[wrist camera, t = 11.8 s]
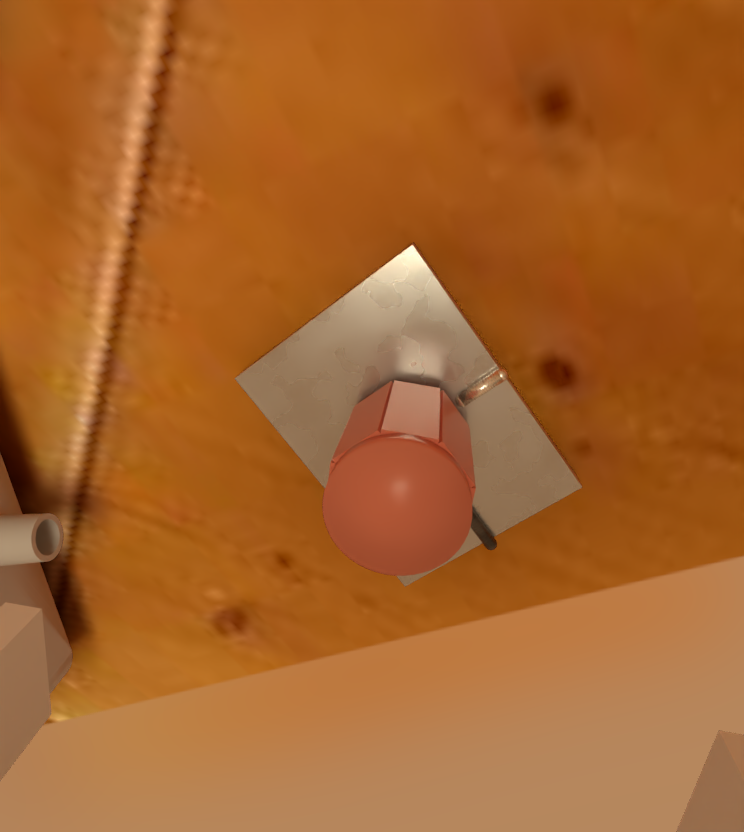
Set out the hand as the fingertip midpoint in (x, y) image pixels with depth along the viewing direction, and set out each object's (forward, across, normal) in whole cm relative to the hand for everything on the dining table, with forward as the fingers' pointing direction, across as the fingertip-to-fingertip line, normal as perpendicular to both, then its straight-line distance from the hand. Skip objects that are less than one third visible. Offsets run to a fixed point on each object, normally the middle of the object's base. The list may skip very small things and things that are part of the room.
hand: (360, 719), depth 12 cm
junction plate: (+24, 0, +3) cm, 24 cm away
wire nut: (+21, 0, +3) cm, 21 cm away
